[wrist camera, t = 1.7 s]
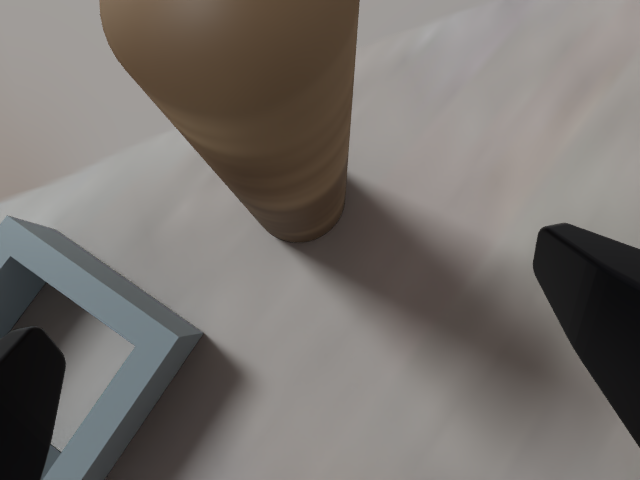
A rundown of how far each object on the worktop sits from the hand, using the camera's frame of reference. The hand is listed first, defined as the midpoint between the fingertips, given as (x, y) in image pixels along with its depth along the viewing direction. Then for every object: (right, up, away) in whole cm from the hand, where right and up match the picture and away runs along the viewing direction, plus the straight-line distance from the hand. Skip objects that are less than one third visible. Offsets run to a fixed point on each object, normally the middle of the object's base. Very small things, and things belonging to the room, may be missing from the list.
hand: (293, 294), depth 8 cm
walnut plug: (0, +3, +12) cm, 13 cm away
